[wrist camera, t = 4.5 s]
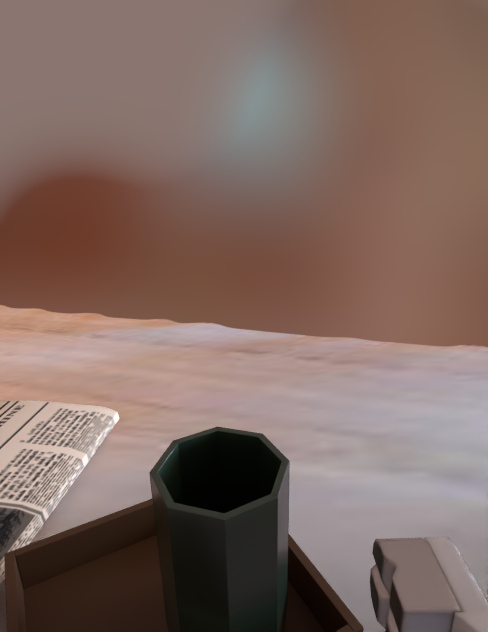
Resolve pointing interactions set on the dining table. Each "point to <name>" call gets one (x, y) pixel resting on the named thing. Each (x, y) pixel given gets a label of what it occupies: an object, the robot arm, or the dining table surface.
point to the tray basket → (133, 582)
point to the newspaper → (42, 461)
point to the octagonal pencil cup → (222, 532)
